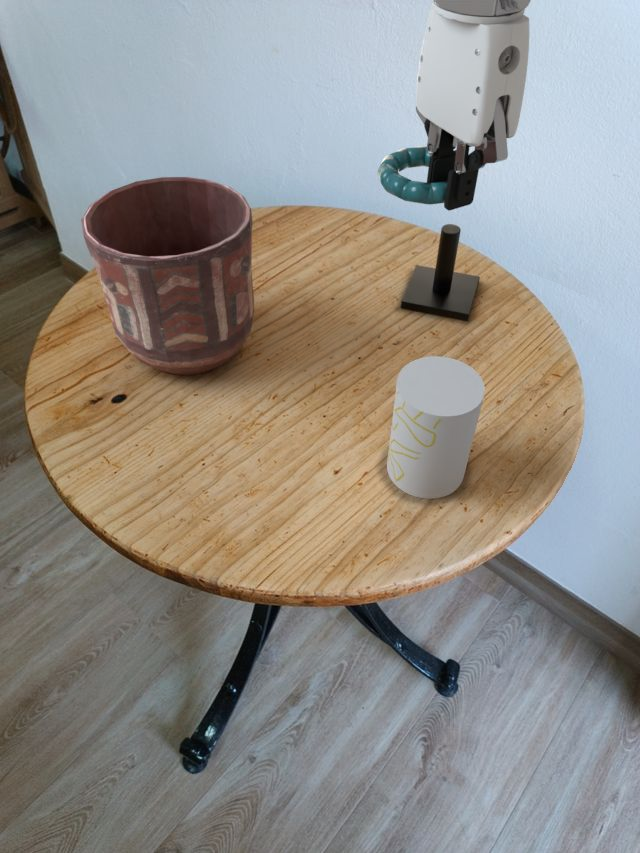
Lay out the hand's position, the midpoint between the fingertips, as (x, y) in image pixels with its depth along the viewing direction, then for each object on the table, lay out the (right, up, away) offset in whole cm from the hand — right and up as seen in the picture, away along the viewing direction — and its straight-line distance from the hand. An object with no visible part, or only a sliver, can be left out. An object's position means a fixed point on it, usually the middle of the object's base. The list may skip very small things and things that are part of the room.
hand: (448, 197), depth 69 cm
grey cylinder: (-2, -28, +4) cm, 28 cm away
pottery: (-29, -13, +17) cm, 36 cm away
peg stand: (+3, -5, +24) cm, 25 cm away
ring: (-2, +3, +2) cm, 4 cm away
